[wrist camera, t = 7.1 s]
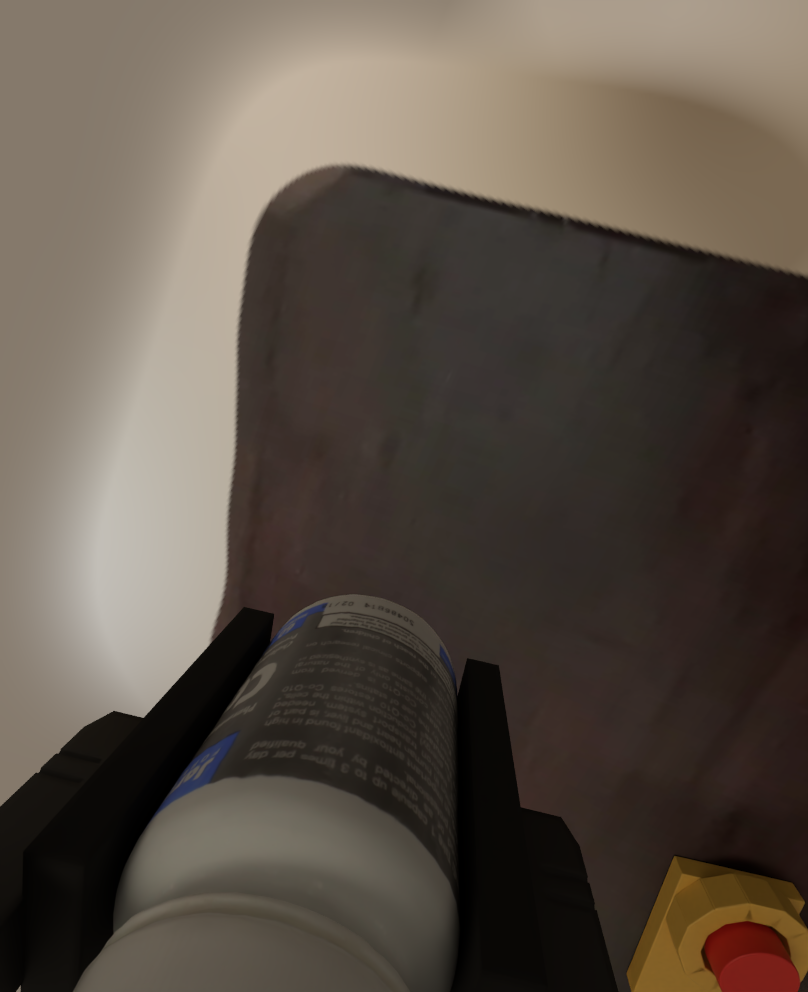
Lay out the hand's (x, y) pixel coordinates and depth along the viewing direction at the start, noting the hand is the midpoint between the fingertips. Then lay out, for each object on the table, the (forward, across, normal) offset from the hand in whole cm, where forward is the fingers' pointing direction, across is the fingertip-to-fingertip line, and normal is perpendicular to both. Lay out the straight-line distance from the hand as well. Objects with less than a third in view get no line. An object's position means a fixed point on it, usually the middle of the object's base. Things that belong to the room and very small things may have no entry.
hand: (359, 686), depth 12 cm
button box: (+16, +23, -22) cm, 36 cm away
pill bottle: (+1, 0, 0) cm, 1 cm away
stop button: (+13, +23, -20) cm, 33 cm away
